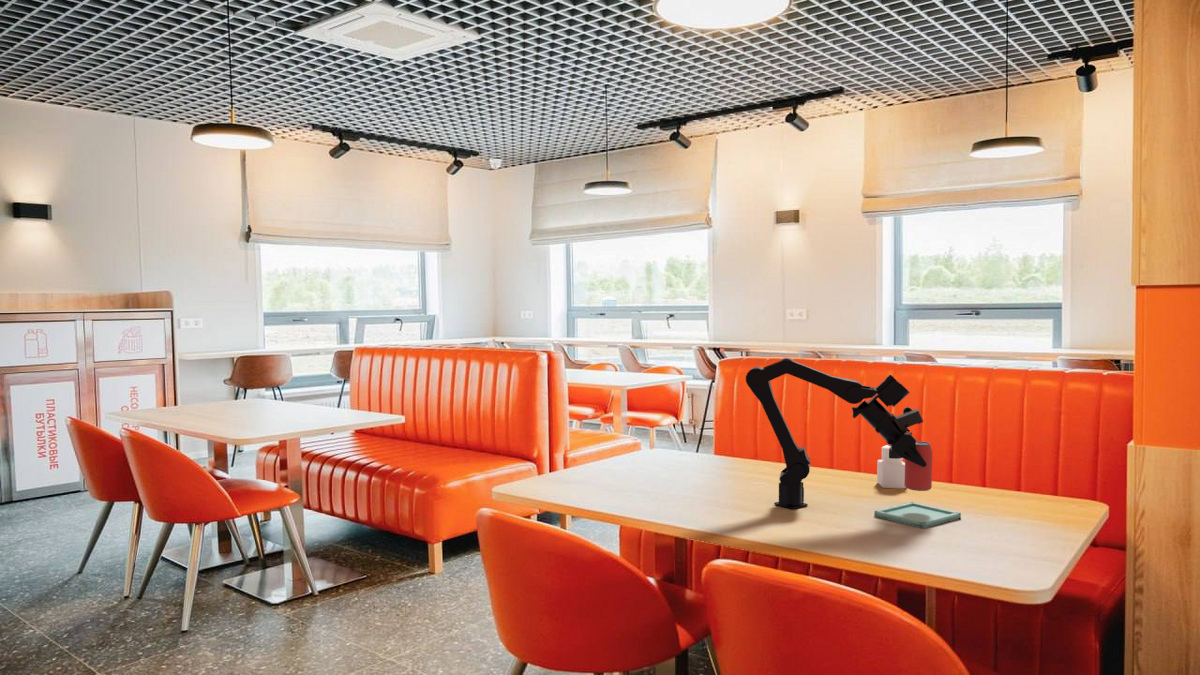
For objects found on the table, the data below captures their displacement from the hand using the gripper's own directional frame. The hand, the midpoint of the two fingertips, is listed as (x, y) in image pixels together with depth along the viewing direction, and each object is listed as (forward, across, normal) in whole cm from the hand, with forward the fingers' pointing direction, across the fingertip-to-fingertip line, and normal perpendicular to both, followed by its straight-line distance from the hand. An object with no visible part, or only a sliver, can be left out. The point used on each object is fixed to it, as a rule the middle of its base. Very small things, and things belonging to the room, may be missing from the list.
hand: (924, 463), depth 212 cm
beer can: (+4, 0, +6) cm, 7 cm away
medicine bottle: (+6, +32, +13) cm, 36 cm away
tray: (+8, -4, +10) cm, 14 cm away
